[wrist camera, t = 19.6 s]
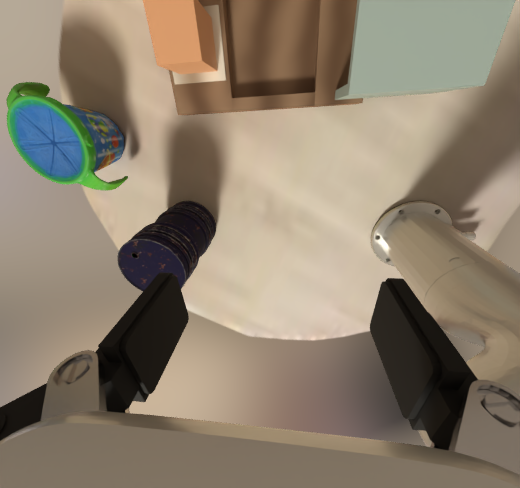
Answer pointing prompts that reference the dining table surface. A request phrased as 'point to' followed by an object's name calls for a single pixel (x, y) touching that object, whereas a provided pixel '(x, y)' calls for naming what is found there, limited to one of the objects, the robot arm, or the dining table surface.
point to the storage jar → (168, 245)
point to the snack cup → (62, 137)
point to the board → (272, 57)
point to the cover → (423, 46)
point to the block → (181, 35)
